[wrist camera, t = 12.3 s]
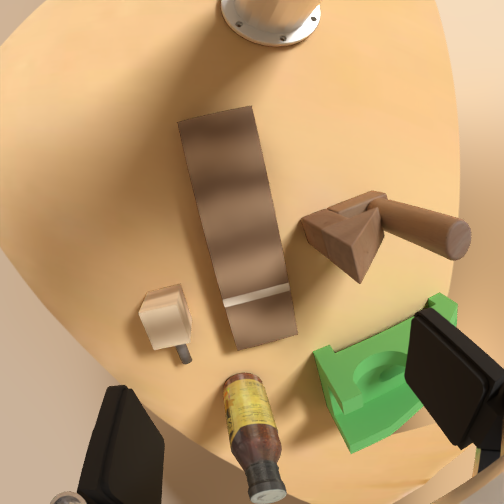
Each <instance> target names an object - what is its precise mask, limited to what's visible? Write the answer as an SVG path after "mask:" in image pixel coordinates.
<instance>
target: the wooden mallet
mask: <svg viewBox="0 0 504 504" xmlns="http://www.w3.org/2000/svg"><path fill="white" fill-rule="evenodd" d="M301 222H302V225H303V228H304V231H305V234H306V237H307V240H308V243H309V244H311V245H312V246H313V247H314V248H316V249H317V250H318V251H319V252H321V253H322V254H323V255H324V256H326V257H327V258H328V259H330V261H332V262H333V263H334V264H335V265H337V266H338V267H339V268H340V269H342V270H343V271H344V272H345V273H347V274H348V275H349V276H350V277H351V278H353V279H354V280H355V281H356V282H358V283H359V284H361V282H362V280H363V278H364V276H365V275H366V273H367V271H368V269H369V267H370V265H371V263H372V261H373V259H374V257H375V255H376V253H377V251H378V249H379V247H380V245H381V243H382V240H383V238H384V231H386V232H389V233H391V234H393V235H396V236H398V237H400V238H403V239H405V240H407V241H410V242H412V243H414V244H416V245H419V246H421V247H423V248H425V249H428V250H430V251H432V252H434V253H436V254H439V255H441V256H443V257H445V258H447V259H449V260H458V259H461V258H462V257H463V256H464V255H465V254H466V252H467V251H468V248H469V246H470V242H471V230H470V227H469V225H468V224H467V223H466V222H465V221H464V220H462V219H459V218H456V217H452V216H449V215H445V214H442V213H438V212H435V211H431V210H427V209H423V208H420V207H416V206H412V205H408V204H404V203H400V202H396V201H392V200H388V199H387V195H386V194H385V193H382V192H377V191H370V192H367V193H364V194H362V195H359V196H357V197H354V198H351V199H349V200H346V201H344V202H341V203H338V204H336V205H333V206H331V207H328V208H327V209H323V210H320V211H318V212H315V213H312V214H310V215H307V216H305V217H303V218H302V219H301ZM383 230H384V231H383Z"/></svg>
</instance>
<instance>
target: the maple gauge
mask: <svg viewBox="0 0 504 504" xmlns="http://www.w3.org/2000/svg"><path fill="white" fill-rule="evenodd" d="M138 314H139V316H140V319H141V321H142V324H143V326H144V328H145V331H146V333H147V335H148V338H149V340H150V342H151V345H152V347H153V349H154V350H157V349H162V348H167V347H172V346H175V347H176V349H177V352H178V354H179V356H180V359H181V361H182V363H183V364H188V363H190V362H191V361H192V358H191V356H190V353H189V351H188V348H187V346H186V343H190V341H191V327H192V316H191V313H190V310H189V307H188V304H187V301H186V298H185V295H184V292H183V289H182V286H181V284H177V285H173V286H169V287H165V288H161V289H157V290H153V291H149V292H147V294H146V296H145V299H144V301H143V303H142V306H141V308H140V310H139V313H138Z"/></svg>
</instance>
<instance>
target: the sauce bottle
mask: <svg viewBox="0 0 504 504" xmlns="http://www.w3.org/2000/svg"><path fill="white" fill-rule="evenodd" d="M223 398H224V406H225V413H226V420H227V428H228V434H229V440H230V447H231V452H232V453H233V455H234V456H235V458H236V459H237V461H238V462H239V464H240V465H241V467H242V468H243V470H244V471H245V474H246V476H247V481H248V485H249V489H248V494H249V497H250V500H251V502H253V503H257V504H268V503H273V502H276V501H279V500H281V499H282V498H284V497H285V495H286V494H287V492H286V488H285V485H284V483H283V481H282V480H281V478H280V474H279V471H278V470H279V467H278V466H277V462H278V460H279V458H280V455H281V450H282V449H281V442H280V440H279V437H278V430H277V427H276V424H275V420H274V417H273V414H272V410H271V407H270V404H269V401H268V397H267V394H266V391H265V387H264V386H263V384H262V381H261V379H260V378H259V377H257V376H256V375H253V374H251V373H240V374H236V375H233V376H232V377H230V378H229V379H228V380H227V381H226V382H225V384H224V393H223Z"/></svg>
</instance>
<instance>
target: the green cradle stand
mask: <svg viewBox="0 0 504 504" xmlns="http://www.w3.org/2000/svg"><path fill="white" fill-rule="evenodd" d="M457 306H458V304H457V303H456V302H454V301H452V300H451V299H449V298H448V297H446V296H444V295H443V294H441V293H440V292H439V293H437V294H436V295H434V296H432V297H430V298H428V308H429V307H432V308H433V309H435V310H436V311H437V312H438V313H440V314H441V315H442V316H443V317H444V318H446V319H447V320H448V321H449V322H450V323H452V324H453V325H454V326H455V327H456V325H457ZM413 318H414V316H413V317H411V318H409V319H407V320H405V321H403V322H402V323H400V324H398V325H396V326H394V327H392V328H389V329H387V330H385V331H383V332H381V333H379V334H377V335H375V336H373V337H371V338H368V339H366V340H364V341H362V342H360V343H357V344H355V345H353V346H351V347H348V348H346V349H344V350H341V351H339V352H337V353H335V352H334V351H333V349H332V348H331V346H330V345H328V346H325V347H323V348H320V349H318V350H315V351H313V353H314V357H315V361H316V365H317V369H318V373H319V377H320V381H321V385H322V388H323V392H324V397H325V401H326V405H327V407H328V409H329V411H330V413H331V415H332V417H333V419H334V421H335V423H336V425H337V427H338V429H339V431H340V433H341V435H342V437H343V439H344V441H345V443H346V445H347V447H348V449H349V451H350V453H351V454H352V453H354V452H357V451H359V450H361V449H363V448H365V447H368V446H370V445H372V444H374V443H376V442H378V441H380V440H382V439H384V438H386V437H388V436H390V435H391V434H393V433H394V432H395V431H396V430H397V429H398V428H400V427H401V426H402V425H403V424H404V423H405V422H407V420H409V419H410V418H411V417H412V416H413V415H414V414H415V413H416V412H418V410H420V409H421V408H422V407H423V406H424V405H423V404H422V403H421V401H420V400H419V399H418V398H417V396H416V395H415V394H414V392H413V391H412V390H411V388H410V387H409V386H408V384H407V383H406V381H405V377H404V373H405V367H406V360H407V353H408V346H409V337H410V328H411V320H412V319H413Z"/></svg>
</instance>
